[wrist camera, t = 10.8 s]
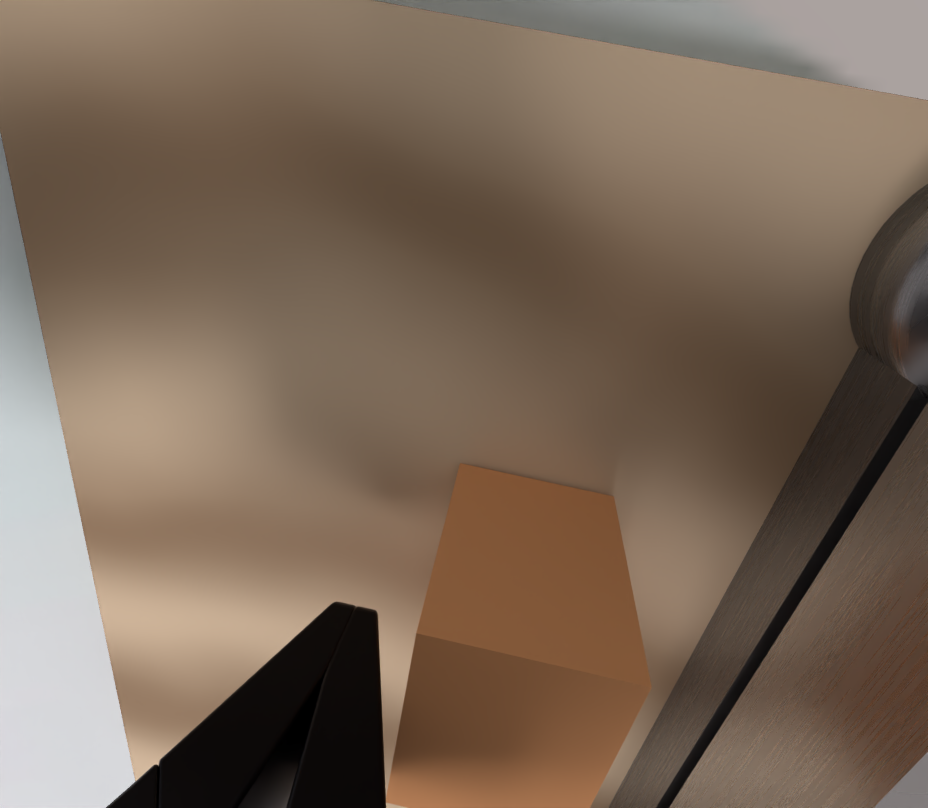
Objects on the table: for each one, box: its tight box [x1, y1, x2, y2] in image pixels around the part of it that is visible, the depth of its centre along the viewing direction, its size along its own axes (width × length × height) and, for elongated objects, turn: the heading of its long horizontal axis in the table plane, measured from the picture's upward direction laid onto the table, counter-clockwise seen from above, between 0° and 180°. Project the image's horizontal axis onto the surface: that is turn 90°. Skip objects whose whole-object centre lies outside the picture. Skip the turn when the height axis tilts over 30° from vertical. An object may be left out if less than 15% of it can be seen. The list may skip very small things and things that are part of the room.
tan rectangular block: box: [386, 463, 652, 808], centre depth 9 cm, size 4×3×4 cm
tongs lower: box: [608, 184, 928, 808], centre depth 9 cm, size 19×4×5 cm, turn 170°
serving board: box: [0, 0, 928, 808], centre depth 13 cm, size 22×18×1 cm
